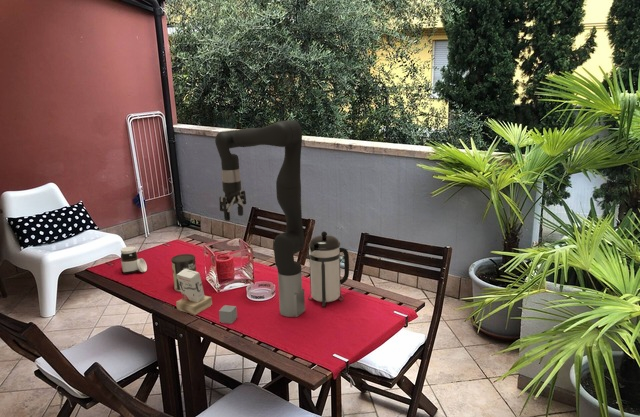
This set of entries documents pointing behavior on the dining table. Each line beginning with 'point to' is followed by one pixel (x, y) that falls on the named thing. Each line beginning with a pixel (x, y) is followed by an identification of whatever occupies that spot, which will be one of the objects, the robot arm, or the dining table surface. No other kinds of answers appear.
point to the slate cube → (228, 314)
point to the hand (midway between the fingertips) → (234, 217)
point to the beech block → (194, 305)
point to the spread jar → (132, 261)
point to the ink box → (190, 285)
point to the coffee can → (182, 266)
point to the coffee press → (326, 268)
